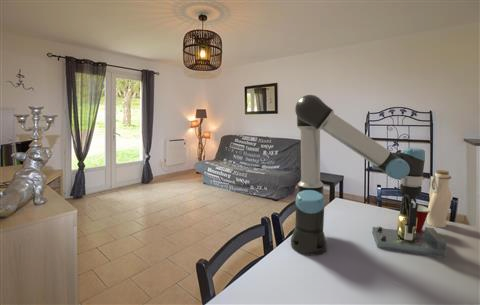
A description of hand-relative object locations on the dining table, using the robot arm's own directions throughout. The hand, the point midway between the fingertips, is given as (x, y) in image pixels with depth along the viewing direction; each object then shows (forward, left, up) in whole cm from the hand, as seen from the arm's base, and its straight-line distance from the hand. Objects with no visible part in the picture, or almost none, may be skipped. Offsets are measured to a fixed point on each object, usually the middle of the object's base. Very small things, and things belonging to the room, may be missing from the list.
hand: (405, 235), depth 111 cm
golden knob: (0, 0, -2) cm, 2 cm away
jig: (0, 0, -4) cm, 4 cm away
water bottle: (+20, +27, -4) cm, 34 cm away
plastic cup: (+8, +17, -4) cm, 19 cm away
